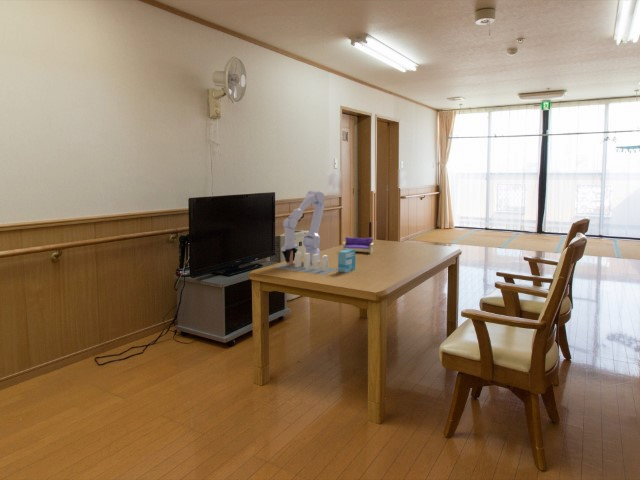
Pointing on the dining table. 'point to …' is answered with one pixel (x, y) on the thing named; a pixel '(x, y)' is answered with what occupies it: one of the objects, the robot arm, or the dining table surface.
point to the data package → (346, 260)
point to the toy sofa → (358, 244)
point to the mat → (302, 269)
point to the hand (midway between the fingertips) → (289, 261)
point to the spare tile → (290, 259)
